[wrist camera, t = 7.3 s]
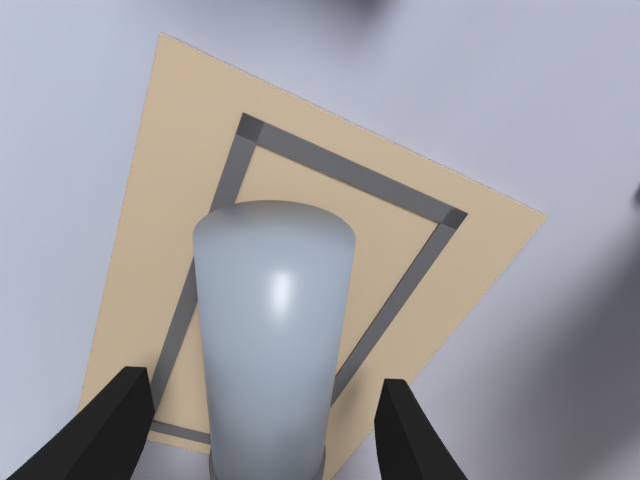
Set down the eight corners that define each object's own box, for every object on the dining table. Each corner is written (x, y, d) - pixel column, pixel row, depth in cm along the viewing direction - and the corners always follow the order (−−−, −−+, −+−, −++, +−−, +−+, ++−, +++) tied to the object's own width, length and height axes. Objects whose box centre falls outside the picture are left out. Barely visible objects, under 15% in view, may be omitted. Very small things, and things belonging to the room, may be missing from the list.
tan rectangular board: (543, 214, 12) (549, 218, 11) (328, 478, 19) (328, 484, 18) (163, 33, 9) (158, 32, 9) (77, 419, 16) (73, 425, 16)
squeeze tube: (347, 203, 11) (376, 285, 8) (317, 430, 16) (325, 542, 13) (206, 196, 11) (163, 279, 7) (221, 431, 16) (201, 548, 12)
